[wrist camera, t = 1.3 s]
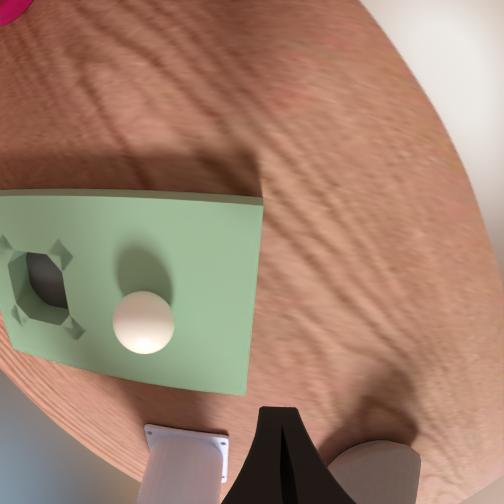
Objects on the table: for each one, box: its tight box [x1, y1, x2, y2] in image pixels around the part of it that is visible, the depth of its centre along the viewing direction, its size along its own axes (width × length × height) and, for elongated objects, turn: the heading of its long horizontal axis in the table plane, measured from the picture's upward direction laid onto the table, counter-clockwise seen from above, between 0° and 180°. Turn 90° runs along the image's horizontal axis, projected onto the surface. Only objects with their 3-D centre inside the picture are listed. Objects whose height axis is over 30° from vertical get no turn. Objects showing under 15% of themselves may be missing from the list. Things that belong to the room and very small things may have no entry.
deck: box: [0, 189, 263, 395], centre depth 19 cm, size 13×20×2 cm, turn 85°
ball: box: [113, 291, 175, 354], centre depth 16 cm, size 4×4×4 cm
